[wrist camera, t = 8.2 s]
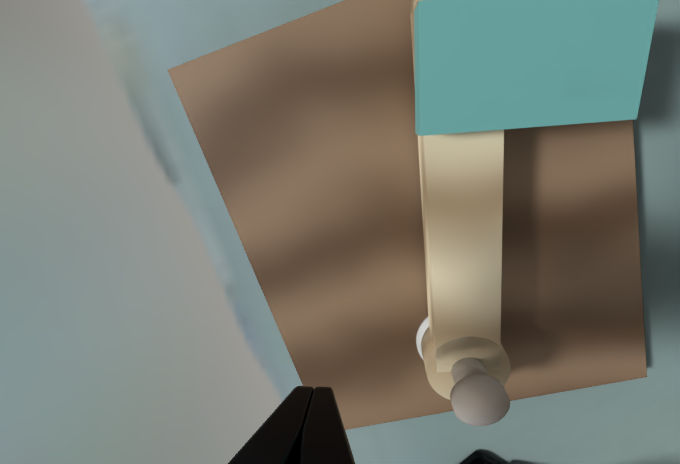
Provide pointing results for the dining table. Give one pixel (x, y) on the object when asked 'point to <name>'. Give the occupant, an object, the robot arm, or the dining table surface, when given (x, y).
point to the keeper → (527, 64)
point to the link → (464, 269)
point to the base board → (408, 216)
